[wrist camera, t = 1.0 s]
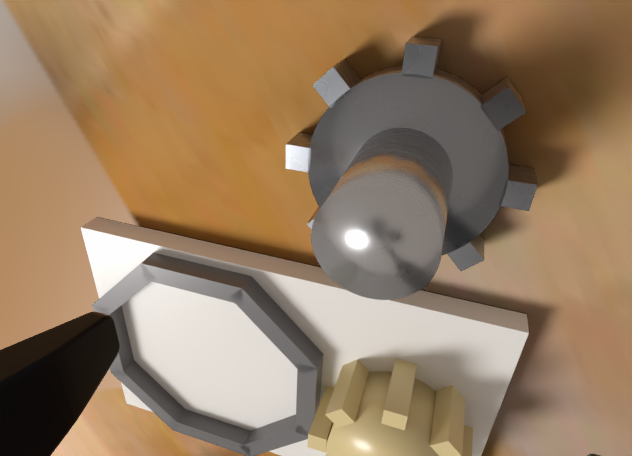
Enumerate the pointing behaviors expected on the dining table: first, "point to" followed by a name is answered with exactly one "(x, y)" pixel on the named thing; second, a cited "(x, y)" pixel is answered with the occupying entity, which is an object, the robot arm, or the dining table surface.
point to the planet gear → (407, 172)
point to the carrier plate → (296, 351)
